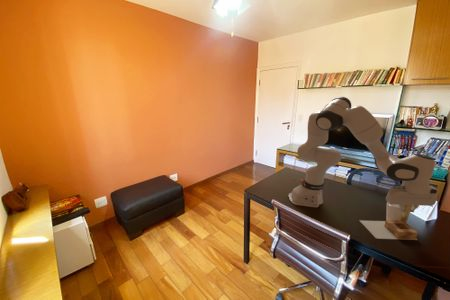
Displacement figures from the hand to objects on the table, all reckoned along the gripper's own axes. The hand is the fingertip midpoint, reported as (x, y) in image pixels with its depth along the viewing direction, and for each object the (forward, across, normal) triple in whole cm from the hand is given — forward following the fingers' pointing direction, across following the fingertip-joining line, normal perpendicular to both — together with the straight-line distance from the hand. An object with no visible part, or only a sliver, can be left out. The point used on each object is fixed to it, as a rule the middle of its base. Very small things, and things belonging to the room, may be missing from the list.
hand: (406, 211), depth 95 cm
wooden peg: (+6, 0, 0) cm, 6 cm away
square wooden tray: (+14, +1, +1) cm, 14 cm away
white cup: (+14, +4, +10) cm, 18 cm away
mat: (+14, -4, +3) cm, 15 cm away
